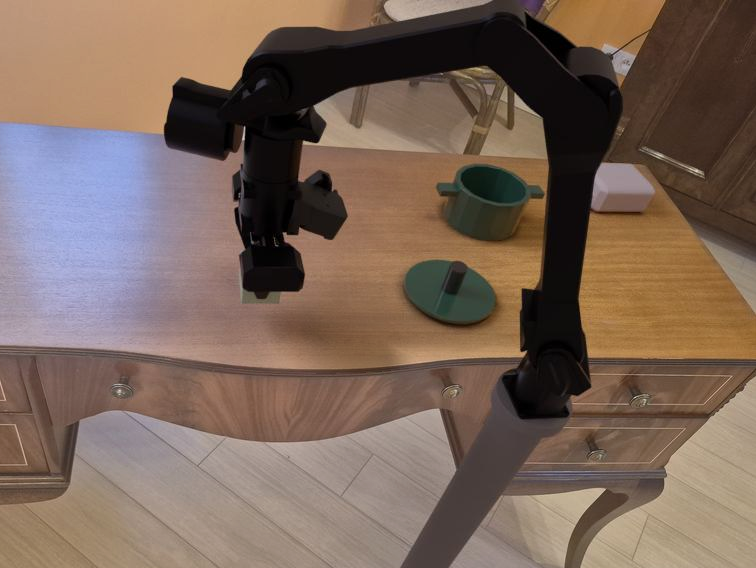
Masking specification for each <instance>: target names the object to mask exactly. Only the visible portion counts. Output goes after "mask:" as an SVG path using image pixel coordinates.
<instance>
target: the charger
mask: <svg viewBox="0 0 756 568" xmlns="http://www.w3.org/2000/svg"><path fill="white" fill-rule="evenodd" d="M655 195H656V191H655V188H654V186H653V185H652V183H650V182H649V180H648V179H647V178H645V176H644V175H643V174H642V173H641V172H640V171H639V169H637V168H636V167H635V165H633V164H631V163H618V162H617V163H615V162H613V163H611V162H602V163H601V165H600V167H599V169H598V170H597V173H596V176H595V181H594V188H593V196H592V203H591V210H592V211H594V212H616V213H617V212H618V213H619V212H621V213H623V212H625V213H627V212H629V213H630V212H631V213H633V212H636V213H639V212H640V213H641V212H642V213H643V212H644V211H646V209H647V208H648V206H649V204H650V202H651V201H652V200H653V198H654V196H655Z"/></svg>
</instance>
